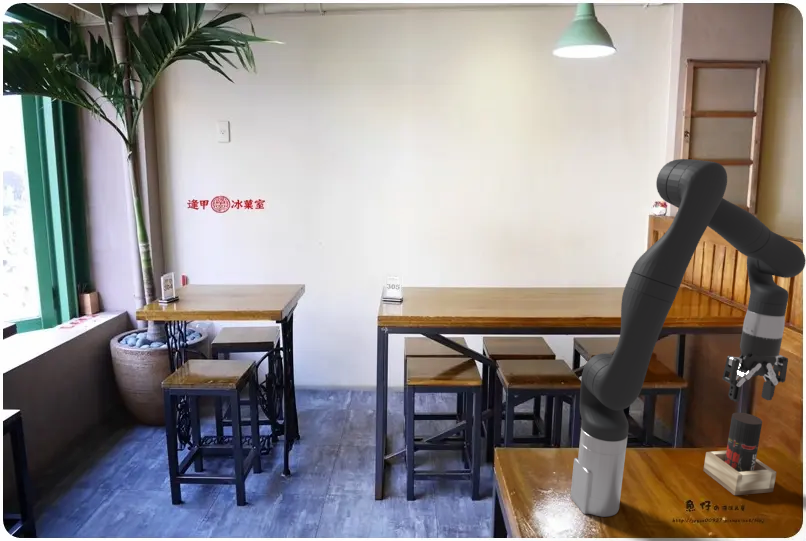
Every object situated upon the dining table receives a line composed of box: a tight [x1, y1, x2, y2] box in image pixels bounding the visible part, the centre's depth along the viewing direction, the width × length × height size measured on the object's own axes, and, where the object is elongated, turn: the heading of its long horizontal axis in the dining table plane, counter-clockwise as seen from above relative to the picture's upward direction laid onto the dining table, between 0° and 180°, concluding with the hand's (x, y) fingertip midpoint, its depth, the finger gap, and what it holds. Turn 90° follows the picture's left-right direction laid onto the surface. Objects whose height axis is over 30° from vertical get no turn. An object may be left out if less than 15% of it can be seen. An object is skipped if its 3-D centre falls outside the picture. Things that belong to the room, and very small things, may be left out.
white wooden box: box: [702, 450, 777, 496], centre depth 129 cm, size 10×10×5 cm
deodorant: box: [725, 412, 763, 472], centre depth 128 cm, size 6×6×15 cm
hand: (750, 399), depth 126 cm, fingers open, 8 cm apart
